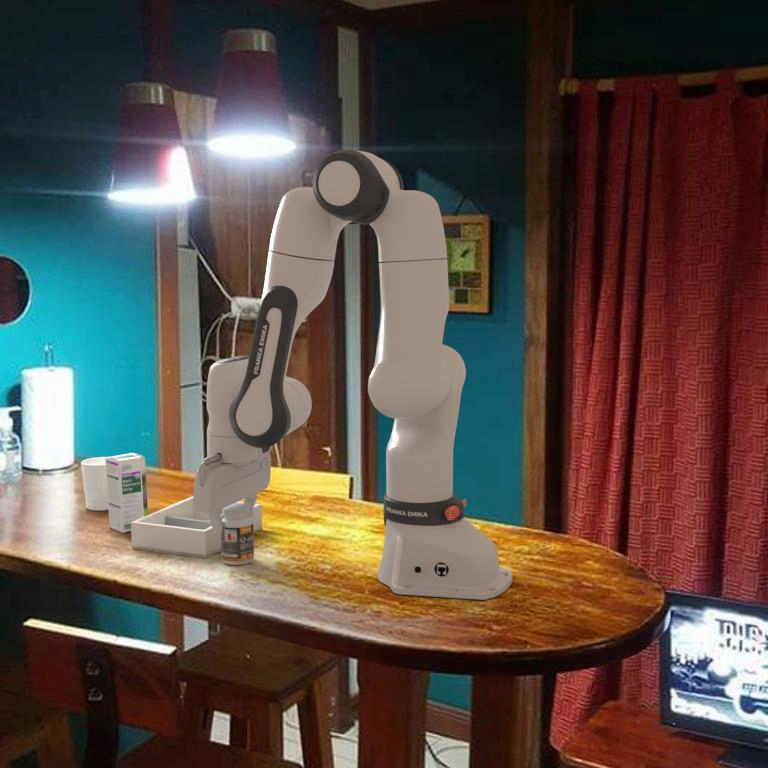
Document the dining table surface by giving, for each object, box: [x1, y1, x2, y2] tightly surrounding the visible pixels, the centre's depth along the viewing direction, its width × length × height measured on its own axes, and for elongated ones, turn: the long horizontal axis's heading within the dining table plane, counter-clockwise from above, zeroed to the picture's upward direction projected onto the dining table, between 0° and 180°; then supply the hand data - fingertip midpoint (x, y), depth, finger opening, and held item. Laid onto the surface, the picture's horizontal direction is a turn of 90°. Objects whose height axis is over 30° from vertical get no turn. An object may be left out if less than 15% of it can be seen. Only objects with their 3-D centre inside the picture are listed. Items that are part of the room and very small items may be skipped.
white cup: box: [81, 456, 109, 512], centre depth 220 cm, size 8×8×10 cm
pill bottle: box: [220, 504, 255, 566], centre depth 183 cm, size 6×6×10 cm
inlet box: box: [130, 496, 263, 559], centre depth 197 cm, size 16×20×5 cm
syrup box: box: [106, 452, 149, 534], centre depth 203 cm, size 6×6×14 cm
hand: (233, 525), depth 183 cm, fingers open, 8 cm apart
